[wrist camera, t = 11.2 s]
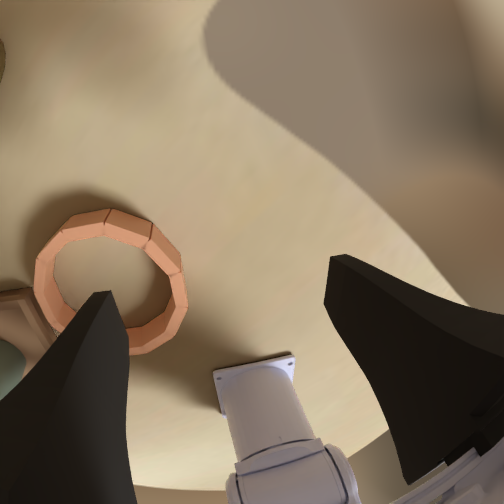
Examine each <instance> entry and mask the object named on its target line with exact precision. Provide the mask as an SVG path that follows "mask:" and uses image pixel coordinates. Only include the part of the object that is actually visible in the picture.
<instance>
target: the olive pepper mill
mask: <svg viewBox="0 0 504 504" xmlns="http://www.w3.org/2000/svg"><path fill="white" fill-rule="evenodd" d="M5 54H6V53H5V49H4V44H3V42H2V41H1V39H0V82H1V79H2V75H3V71H4V68H5Z"/></svg>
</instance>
